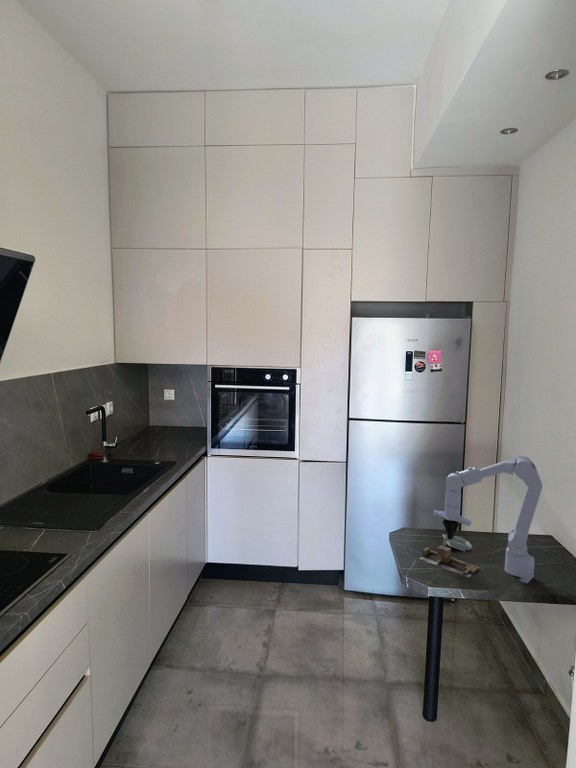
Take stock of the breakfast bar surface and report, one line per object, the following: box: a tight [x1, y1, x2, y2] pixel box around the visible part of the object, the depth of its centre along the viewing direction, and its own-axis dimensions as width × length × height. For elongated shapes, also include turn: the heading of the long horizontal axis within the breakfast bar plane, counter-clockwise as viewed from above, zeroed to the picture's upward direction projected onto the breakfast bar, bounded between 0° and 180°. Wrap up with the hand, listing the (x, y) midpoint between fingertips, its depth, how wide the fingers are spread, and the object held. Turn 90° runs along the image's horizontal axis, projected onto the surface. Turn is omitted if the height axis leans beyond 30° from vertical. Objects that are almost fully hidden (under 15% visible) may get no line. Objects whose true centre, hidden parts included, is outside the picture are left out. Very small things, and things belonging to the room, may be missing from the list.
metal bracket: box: [442, 532, 473, 552], centre depth 201 cm, size 14×6×15 cm
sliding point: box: [436, 544, 452, 564], centre depth 185 cm, size 4×6×5 cm, turn 136°
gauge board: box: [418, 546, 480, 578], centre depth 184 cm, size 22×10×4 cm, turn 46°
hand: (450, 538), depth 188 cm, fingers closed
